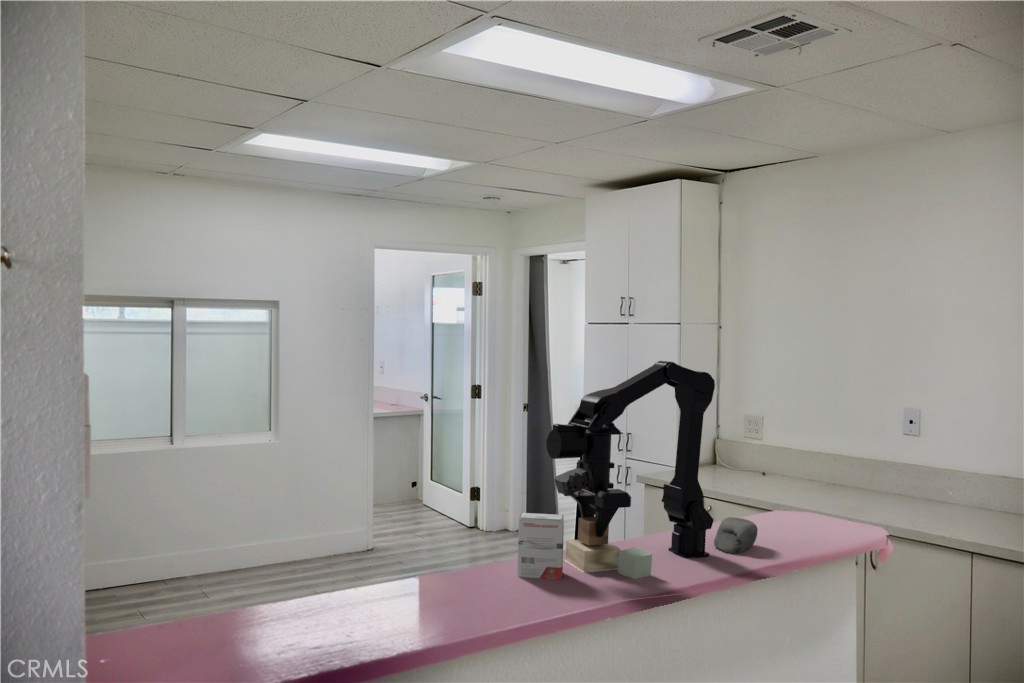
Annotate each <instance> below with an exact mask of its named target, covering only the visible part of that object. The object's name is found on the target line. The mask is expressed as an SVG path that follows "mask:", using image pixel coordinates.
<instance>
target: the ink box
mask: <svg viewBox="0 0 1024 683" xmlns="http://www.w3.org/2000/svg"><path fill="white" fill-rule="evenodd" d="M564 519H565V517H564V514H556V513H555V514H552V513H551V514H549V513H533V512H532V513H530V512H521V513H520V515H519V518H518V540H517V541H518V544H517V546H518V547H517V577H519V578H531V579H544V580H558V581H559V580H563V573H564V567H563V566H564V560H563V559H564V527H565V526H564V523H565V521H564Z"/></svg>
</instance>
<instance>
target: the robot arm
mask: <svg viewBox="0 0 1024 683" xmlns="http://www.w3.org/2000/svg"><path fill="white" fill-rule="evenodd" d="M664 385H668V386H670V387H672V388H674V398H675V400H676V401H675V402H676V403H677V405H678V408H679V413H680V414H679V422H678V423H679V424H678V434H677V445H676V457H675V466H674V468H675V469H674V474H673V478H672V480H671V481H670V482H669V483H664V484H663V488H662V489H663V494H662V495H663V496H662V498H661V503H663V509H664V511H665V512H666V513H667V517H668V521H669V522H670V523H671V522H672V523H674V524H673V531H672V532H671V546H670V547H669V548H668V551H670V552H672V553H674V554H676V555H678V556H680V557H682V558H686V559H690V558H701V557H709V556H710V553H709V552H708V551H706V535H707V534H706V532H707V530H711V529H712V527H713V523H714V521H715V520H714V518H713V517H712V516H711V514H710V513H709V511H707V509H706V508H705V505H704V503H705V502H704V501H705V500H704V499H705V498H704V493H703V490H702V487H701V484H700V481H699V470H700V469H699V468H700V457H701V447H702V436H703V426H704V425H703V424H704V423H703V422H704V415H705V412H706V410H707V409H708V408H709V406H710V405H711V403H712V401H713V396H714V392H715V387H716V383H715V379H714V378H713V377H712V375H711V374H710V373H709V372H706V371H699V370H697V371H696V370H692V369H690V368H687V367H684V366H682V365H680V364H677V363H675V361H674V362H673V361H667V360H666V361H665V360H659V361H657V362H655V363H654V364H653V365H651V366H649V367H647V368H646V369H644V370H642V371H641V372H639V373H637V374H635V375H633V376H632V377H630V378H628V379H626V380H624V381H623V382H621V383H619V384H617V385H616V386H613V387H610V388H603V389H600V390H597V391H594V392H590V393H588V394H585V395H584V396H583V397H582V398H581V399H580V403H579V406H578V407H577V410H576V411H575V412H574V414H573V416H571V419H569V421H568V422H567V424H561V423H553V424H552V430H550V432H549V433H548V435H547V438H546V444H545V446H546V451H547V454H548V456H549V458H550V459H553V460H558V459H560V460H561V459H577V458H578V460H577V462H576V468H574V469H573V468H572V469H569V470H567V471H565V472H563V473H561V474H558V475H556V476H555V477H554V478H553V480H554V483H555V486H556V491H557V492H558V494H562V495H563V496H564V497H570V498H572V499H573V501H575V503H577V506H578V510H579V512H580V517H594V516H595V521H596V533H597V537H602V536H603V534H604V533H605V531H606V529H607V527H608V525H609V526H610V523H611V522H612V520H613V518H614V516H615V514H616V513H617V512H618V510H619V509H621V508H622V509H623V508H630V507H632V496H631V494H629V493H628V492H627V491H626V490H622V489H620V488H615V487H614V482H610V481H611V480H610V478H611V469H615V462H613V461H611V456H612V455H611V454H612V453H611V452H612V450H611V449H612V435H613V436H615V435H621V434H622V432H621V429H619V428H618V427H617V426H616V425H615V423H614V421H616V420H617V419H618V418H619V417H621V415H623V414H624V411H625V410H626V409H627V407H628V406H629V405H631V404H632V403H634V402H636V401H637V400H639V399H641V398H643V397H645V396H646V395H648V394H650V393H652V392H653V391H655V390H656V389H658V388H660V387H662V386H664ZM579 458H581V459H579Z"/></svg>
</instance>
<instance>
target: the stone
mask: <svg viewBox="0 0 1024 683" xmlns="http://www.w3.org/2000/svg"><path fill="white" fill-rule="evenodd" d="M757 537H758V527H757V524H755V522H753V521H751V520H749V519H745V518H742V517H733V516H732V517H731V516H730V517H726V518H724V519H723V520H721V522H720V524H719V525H718V529H717V531H716V534H715V537H714V540H713V544H714V547H715V549H716V550H718V552H720V551H722V552H721V553H724V552H725V554H729V553H730V555H735V554H734V553H736V554H740V552H741V553H743V552H745V551H747V550H749V549H751V548H752V546H754V544H755V542H756V540H757ZM742 551H743V552H742Z"/></svg>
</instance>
